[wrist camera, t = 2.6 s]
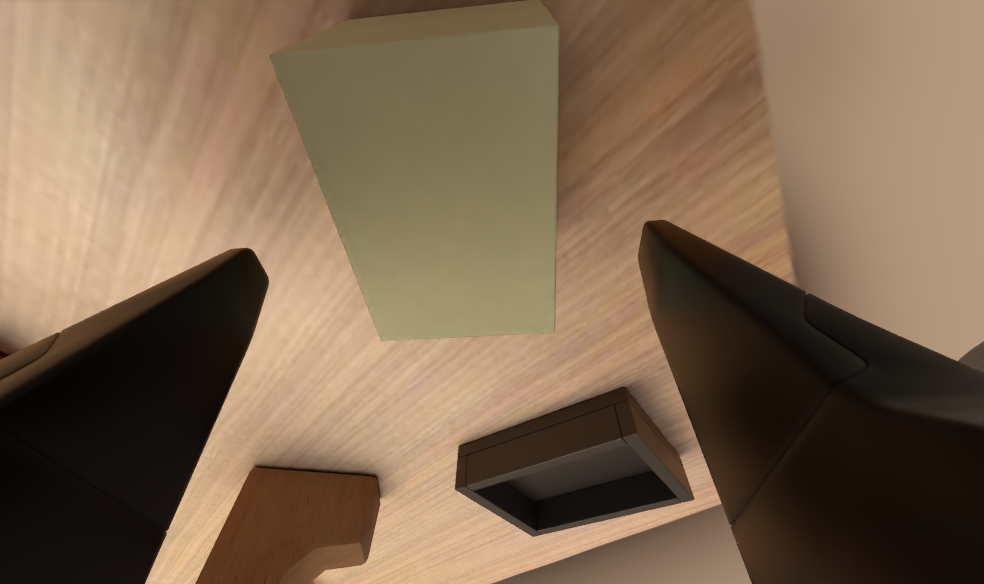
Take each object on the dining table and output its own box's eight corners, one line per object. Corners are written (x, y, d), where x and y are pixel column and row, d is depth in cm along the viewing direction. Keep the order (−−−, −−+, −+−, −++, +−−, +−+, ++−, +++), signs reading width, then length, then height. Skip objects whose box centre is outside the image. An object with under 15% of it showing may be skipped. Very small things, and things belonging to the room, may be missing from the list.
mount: (624, 386, 22) (637, 433, 20) (679, 456, 27) (695, 500, 25) (458, 446, 27) (454, 489, 24) (531, 497, 31) (533, 537, 29)
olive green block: (345, 19, 11) (267, 54, 8) (540, -2, 11) (559, 24, 7) (408, 251, 17) (380, 341, 13) (542, 243, 16) (555, 333, 12)
